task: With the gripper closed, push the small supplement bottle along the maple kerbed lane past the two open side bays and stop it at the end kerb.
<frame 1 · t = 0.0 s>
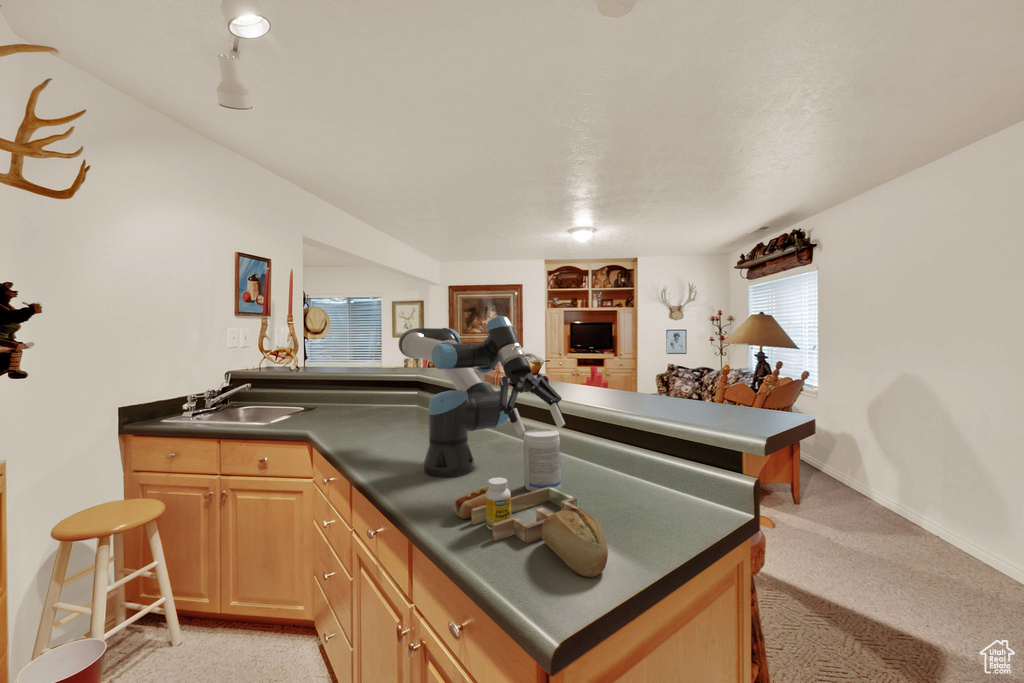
hand: (542, 429, 105), 15 cm above the counter, tool tilted 35°, fingers open, 13 cm apart
light wood frame: (532, 521, 85), on the counter
food: (480, 511, 91), on the counter
supplement bottle: (498, 526, 83), on the counter
bread roll: (573, 559, 71), on the counter
supplement tub: (542, 488, 104), on the counter
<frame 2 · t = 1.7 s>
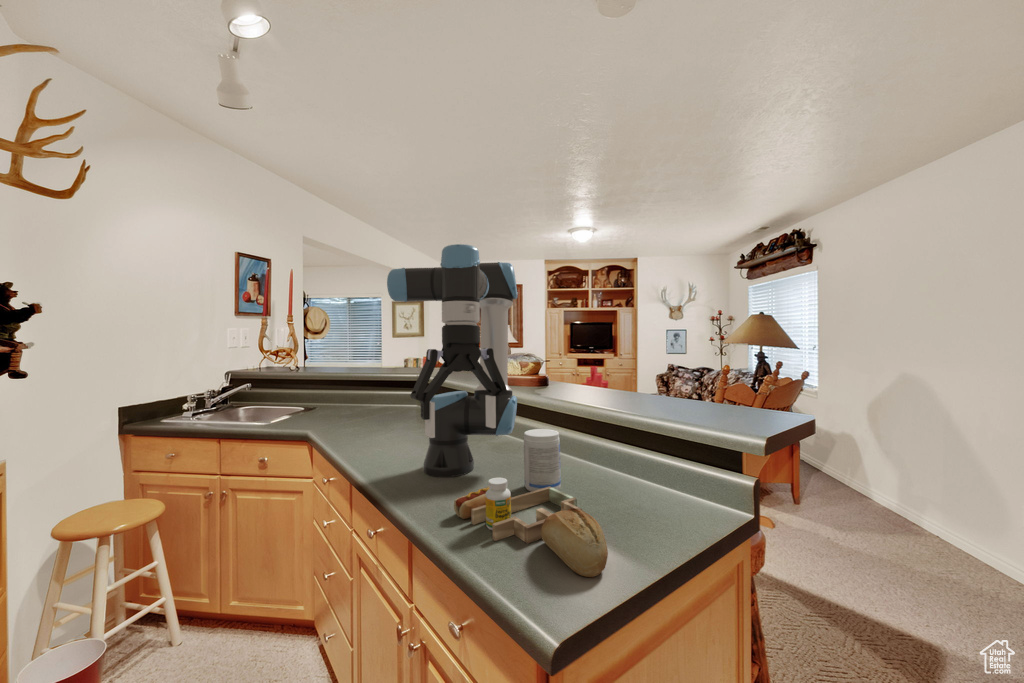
hand: (461, 431, 78), 21 cm above the counter, tool pointing down, fingers open, 13 cm apart
nothing on the counter moved.
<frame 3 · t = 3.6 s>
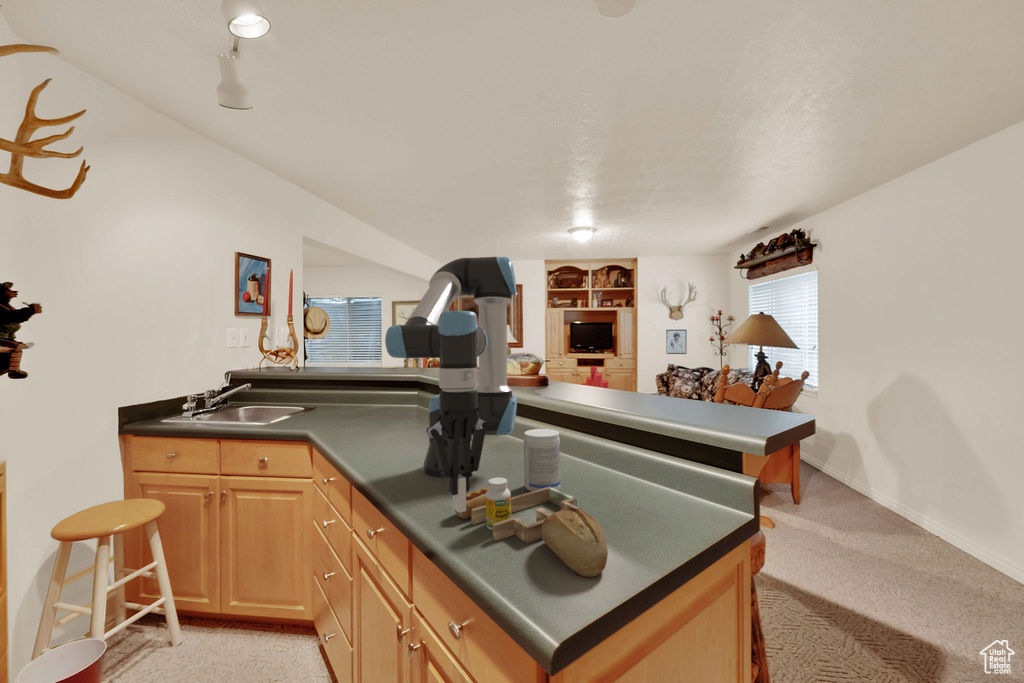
hand: (459, 509, 78), 6 cm above the counter, tool pointing down, fingers closed
nothing on the counter moved.
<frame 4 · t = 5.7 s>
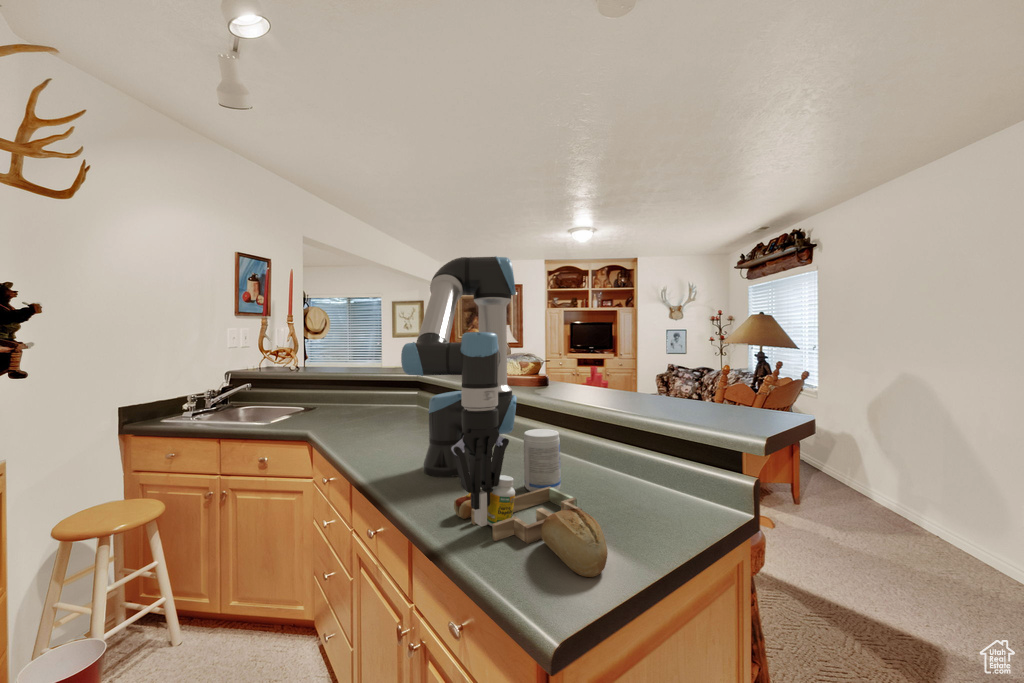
hand: (480, 523, 81), 2 cm above the counter, tool pointing down, fingers closed
supplement bottle: (498, 524, 83), on the counter, touching gripper
everything else where it was.
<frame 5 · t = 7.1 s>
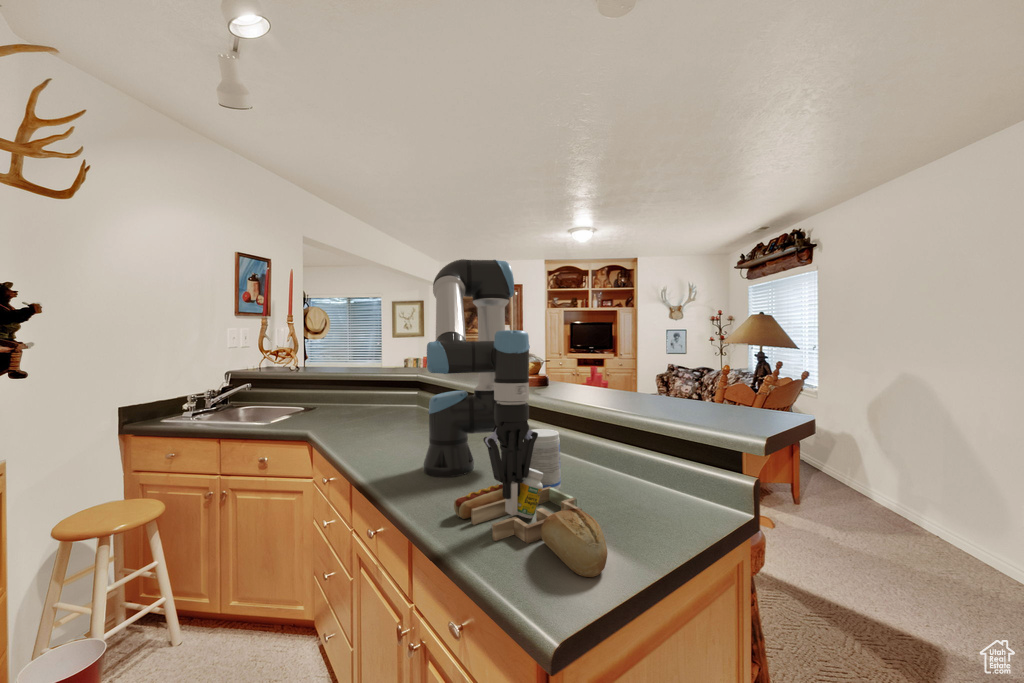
hand: (511, 512, 84), 2 cm above the counter, tool pointing down, fingers closed
supplement bottle: (521, 514, 86), point 1 cm above the counter, touching gripper
everything else where it was.
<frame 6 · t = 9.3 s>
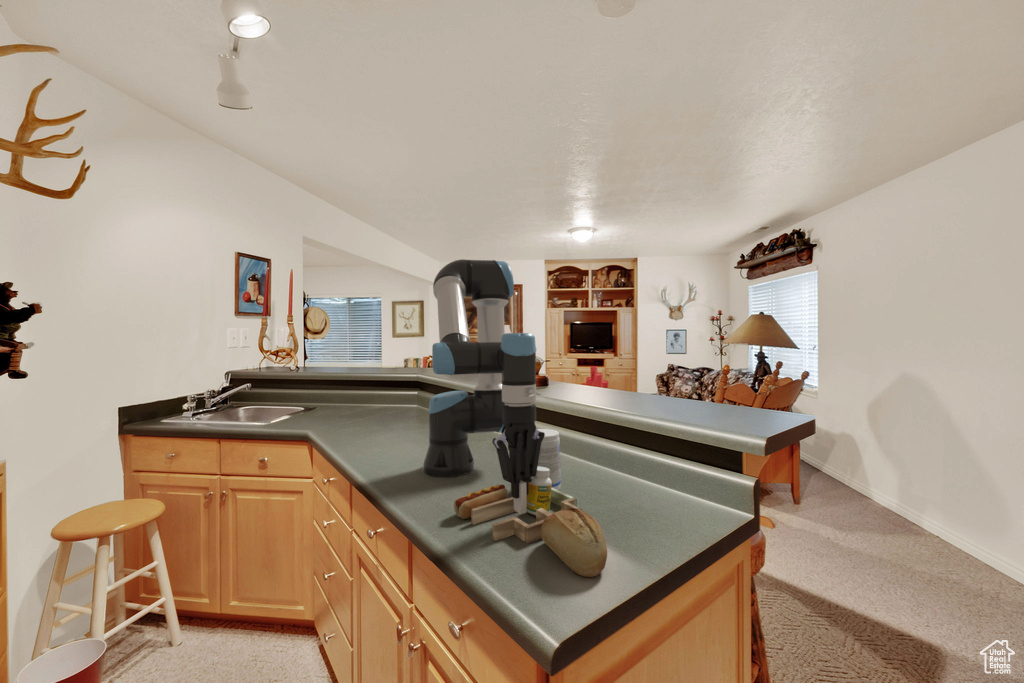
hand: (520, 511, 86), 2 cm above the counter, tool pointing down, fingers closed
supplement bottle: (537, 512, 89), on the counter, touching gripper
everything else where it was.
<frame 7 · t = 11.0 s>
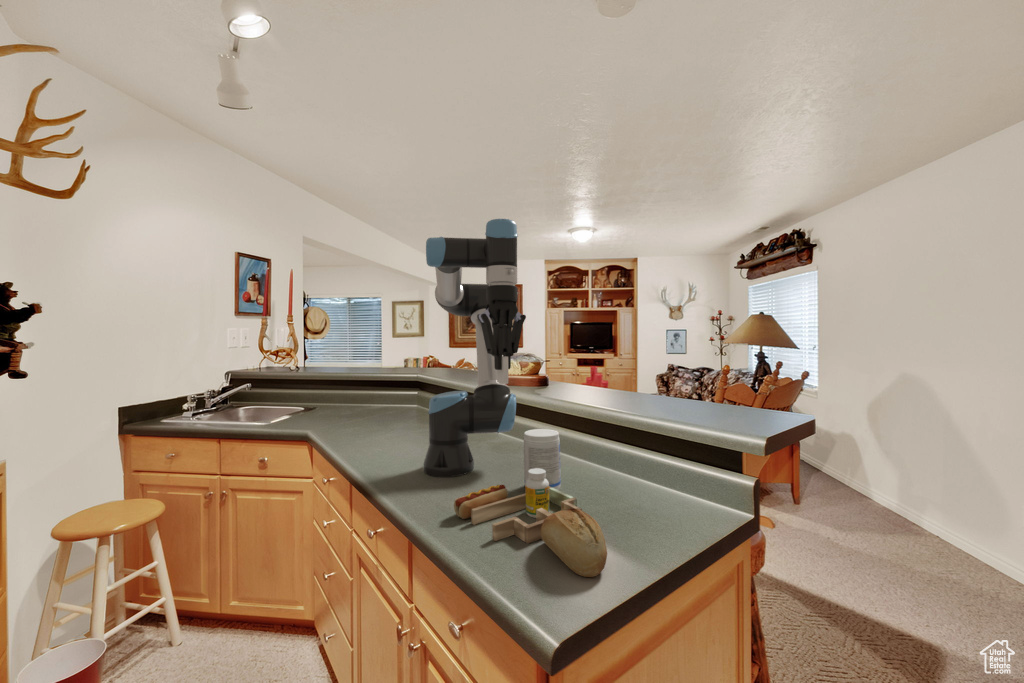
hand: (502, 383, 96), 29 cm above the counter, tool pointing down, fingers closed
supplement bottle: (537, 514, 89), on the counter
everything else where it was.
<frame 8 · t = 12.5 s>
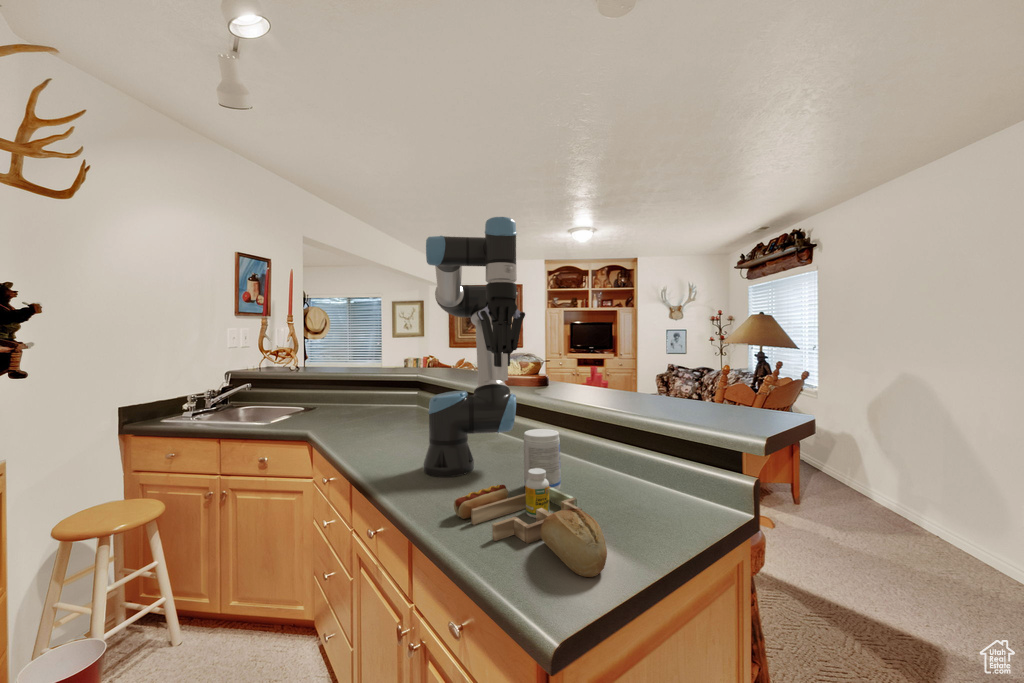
hand: (502, 380, 96), 29 cm above the counter, tool pointing down, fingers closed
nothing on the counter moved.
at the end: supplement bottle inside the target area (3.1 cm from its centre), on the counter; supplement bottle tilted 0°; supplement bottle touching counter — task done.
